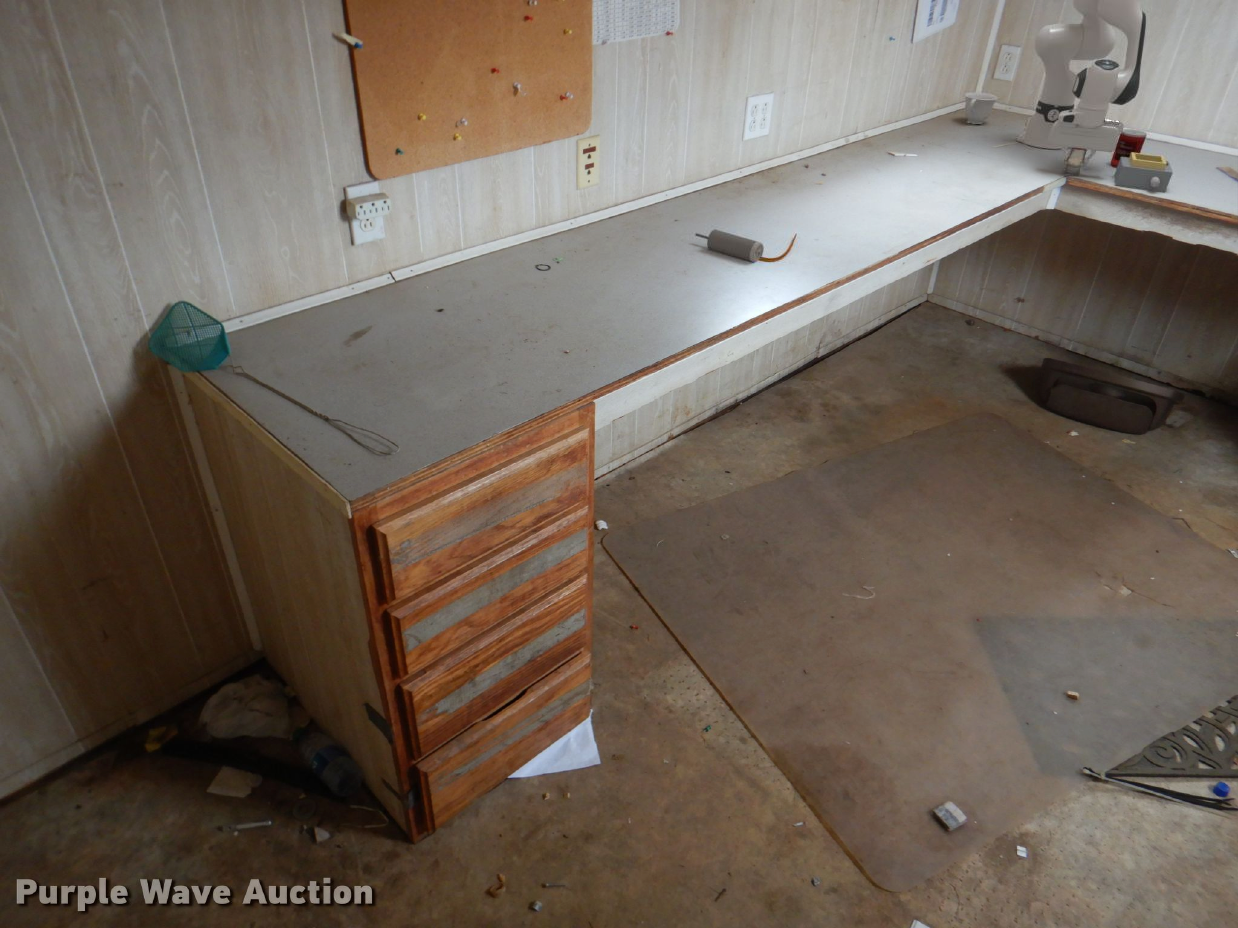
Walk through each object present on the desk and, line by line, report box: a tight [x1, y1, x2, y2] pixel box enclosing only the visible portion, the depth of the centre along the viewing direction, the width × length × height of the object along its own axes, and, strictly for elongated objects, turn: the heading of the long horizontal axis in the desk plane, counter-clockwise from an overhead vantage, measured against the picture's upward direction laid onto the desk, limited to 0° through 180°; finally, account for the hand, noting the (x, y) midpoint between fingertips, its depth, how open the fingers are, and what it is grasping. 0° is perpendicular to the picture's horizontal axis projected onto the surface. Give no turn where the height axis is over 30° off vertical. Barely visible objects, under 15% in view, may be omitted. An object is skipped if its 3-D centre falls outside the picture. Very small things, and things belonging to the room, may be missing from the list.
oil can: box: [1062, 147, 1088, 177], centre depth 277 cm, size 5×5×8 cm
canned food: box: [1110, 128, 1147, 169], centre depth 286 cm, size 8×8×11 cm
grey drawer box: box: [1113, 152, 1174, 193], centre depth 269 cm, size 15×14×8 cm
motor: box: [695, 229, 798, 263], centre depth 219 cm, size 23×22×5 cm
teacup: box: [964, 92, 999, 125], centre depth 329 cm, size 12×15×10 cm
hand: (1074, 162), depth 277 cm, fingers closed on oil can, 5 cm apart
